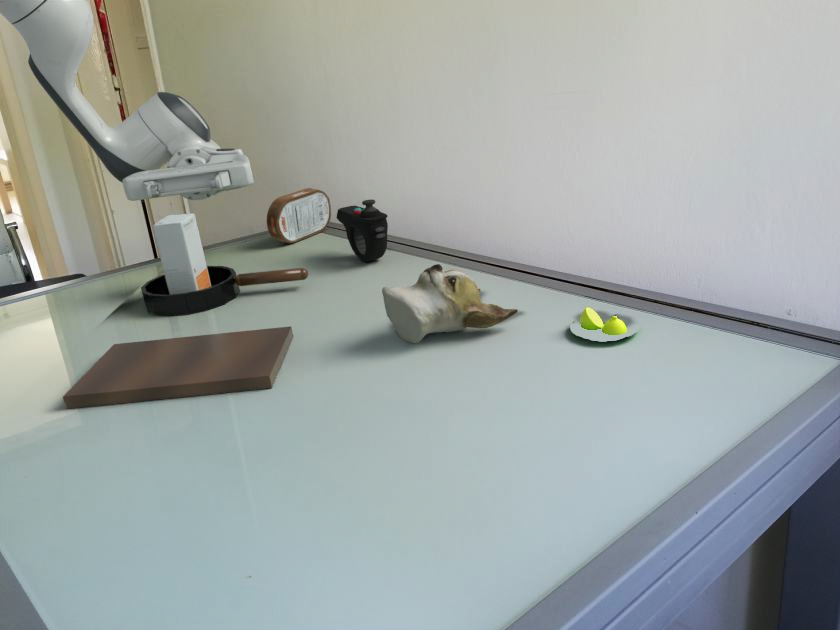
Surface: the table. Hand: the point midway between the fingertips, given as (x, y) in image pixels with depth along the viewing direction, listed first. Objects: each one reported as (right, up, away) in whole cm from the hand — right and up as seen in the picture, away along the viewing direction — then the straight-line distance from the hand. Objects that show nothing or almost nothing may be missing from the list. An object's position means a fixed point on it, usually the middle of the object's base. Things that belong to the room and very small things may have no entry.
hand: (184, 188), depth 113 cm
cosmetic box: (+4, -18, -5) cm, 19 cm away
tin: (+14, -5, +22) cm, 27 cm away
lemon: (+60, -23, -30) cm, 70 cm away
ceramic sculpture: (+41, -23, -25) cm, 54 cm away
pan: (+9, -17, -5) cm, 20 cm away
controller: (+28, -10, +6) cm, 30 cm away
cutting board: (+12, -27, -29) cm, 42 cm away
